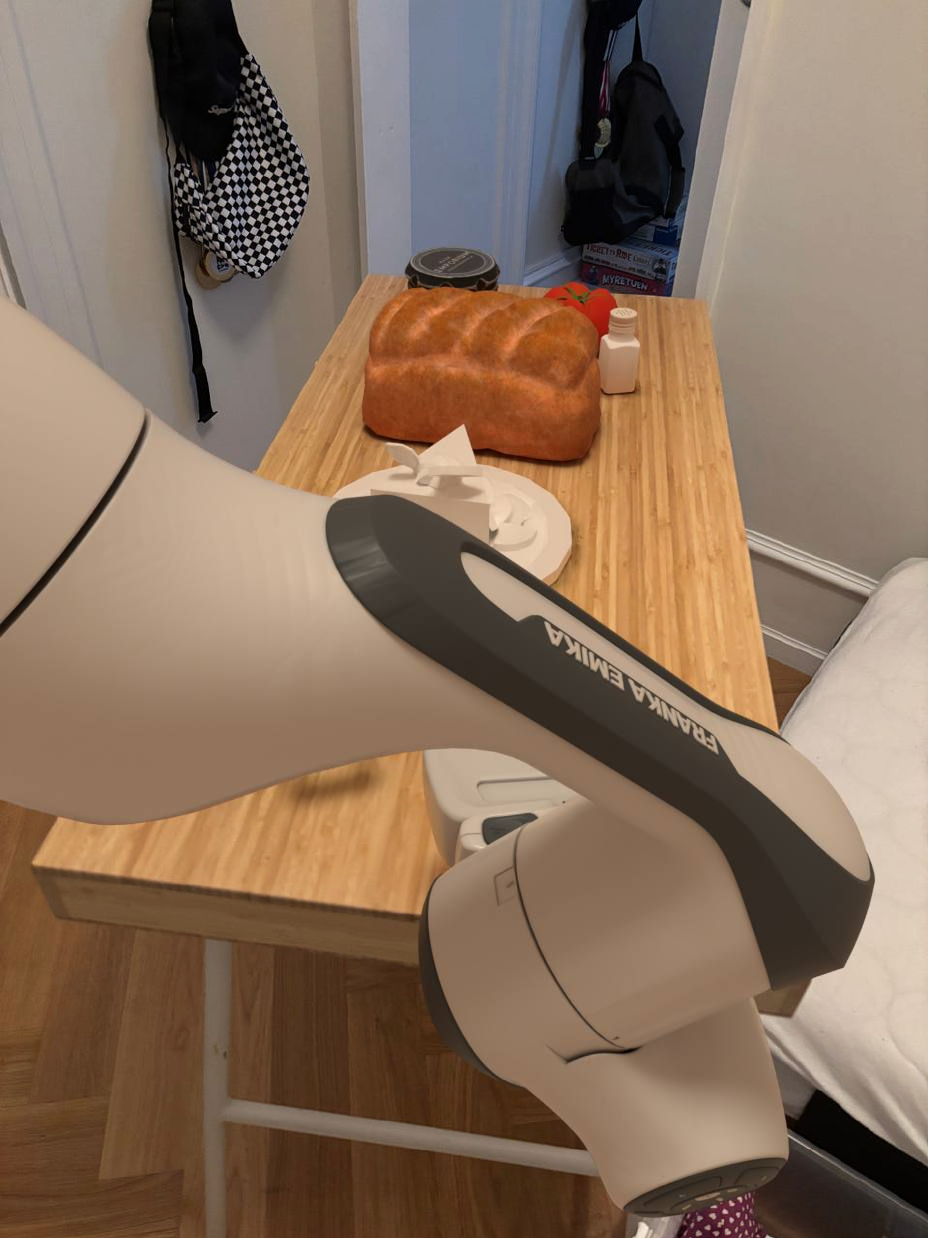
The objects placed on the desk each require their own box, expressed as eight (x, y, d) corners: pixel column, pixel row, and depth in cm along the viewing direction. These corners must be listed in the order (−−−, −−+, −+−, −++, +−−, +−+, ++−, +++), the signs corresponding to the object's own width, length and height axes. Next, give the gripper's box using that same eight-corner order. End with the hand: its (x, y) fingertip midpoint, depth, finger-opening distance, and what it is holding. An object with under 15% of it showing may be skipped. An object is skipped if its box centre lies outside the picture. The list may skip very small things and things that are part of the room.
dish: (551, 637, 79) (560, 526, 72) (273, 596, 83) (256, 487, 76) (586, 488, 98) (597, 387, 91) (357, 460, 102) (350, 362, 95)
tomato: (519, 343, 126) (521, 287, 122) (576, 323, 132) (581, 269, 127) (575, 369, 120) (580, 312, 115) (633, 347, 125) (640, 292, 121)
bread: (582, 473, 100) (596, 333, 90) (352, 437, 106) (341, 302, 96) (604, 415, 110) (619, 284, 101) (393, 385, 116) (387, 259, 106)
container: (495, 354, 123) (498, 279, 117) (399, 350, 124) (396, 274, 118) (502, 317, 133) (504, 245, 127) (412, 313, 134) (410, 242, 128)
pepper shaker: (604, 395, 114) (612, 320, 108) (594, 381, 117) (602, 307, 111) (635, 393, 115) (645, 317, 109) (625, 379, 118) (634, 304, 112)
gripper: (822, 818, 49) (737, 645, 59) (431, 846, 47) (415, 662, 58) (793, 889, 53) (718, 715, 63) (432, 917, 51) (417, 733, 62)
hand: (571, 690), depth 61 cm, fingers closed on lemon, 5 cm apart
